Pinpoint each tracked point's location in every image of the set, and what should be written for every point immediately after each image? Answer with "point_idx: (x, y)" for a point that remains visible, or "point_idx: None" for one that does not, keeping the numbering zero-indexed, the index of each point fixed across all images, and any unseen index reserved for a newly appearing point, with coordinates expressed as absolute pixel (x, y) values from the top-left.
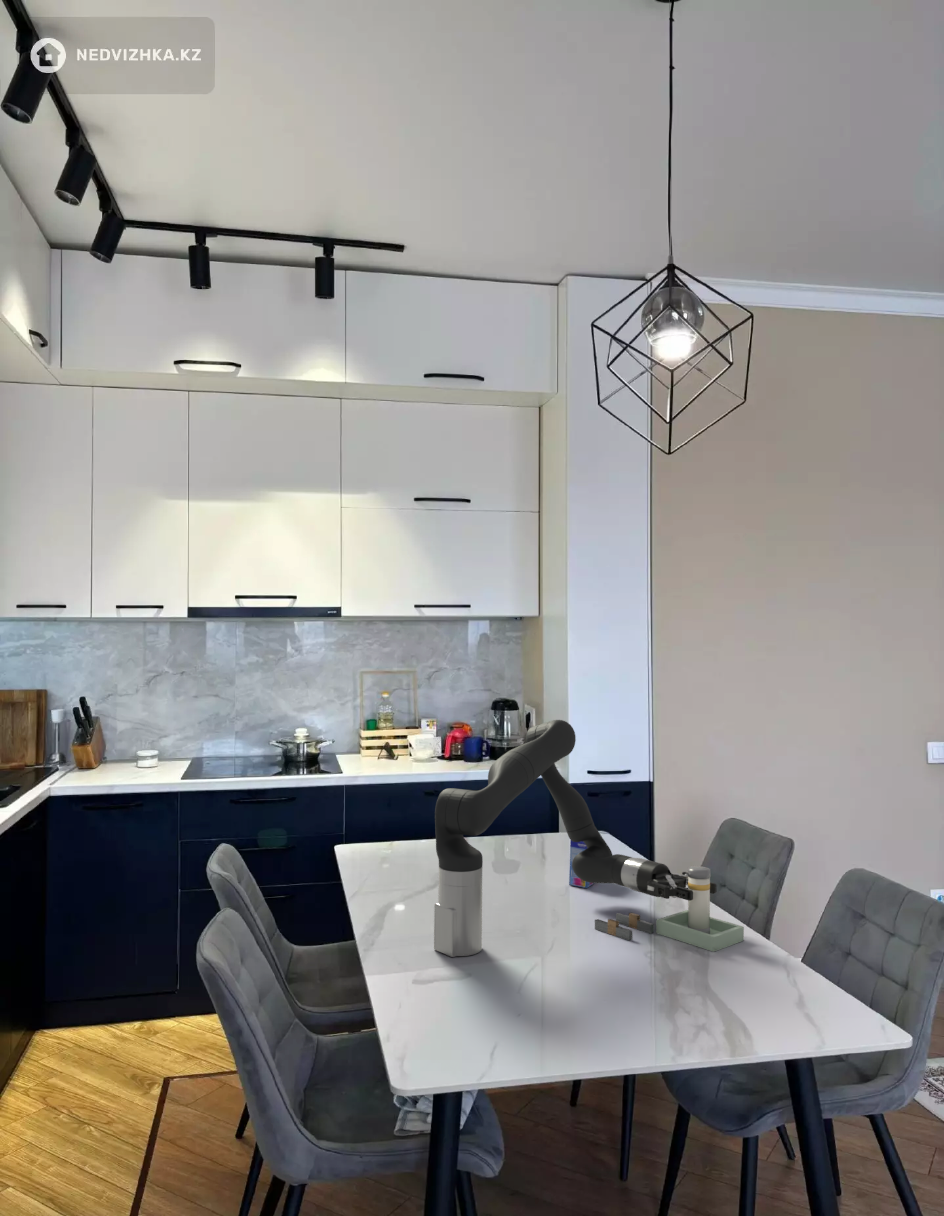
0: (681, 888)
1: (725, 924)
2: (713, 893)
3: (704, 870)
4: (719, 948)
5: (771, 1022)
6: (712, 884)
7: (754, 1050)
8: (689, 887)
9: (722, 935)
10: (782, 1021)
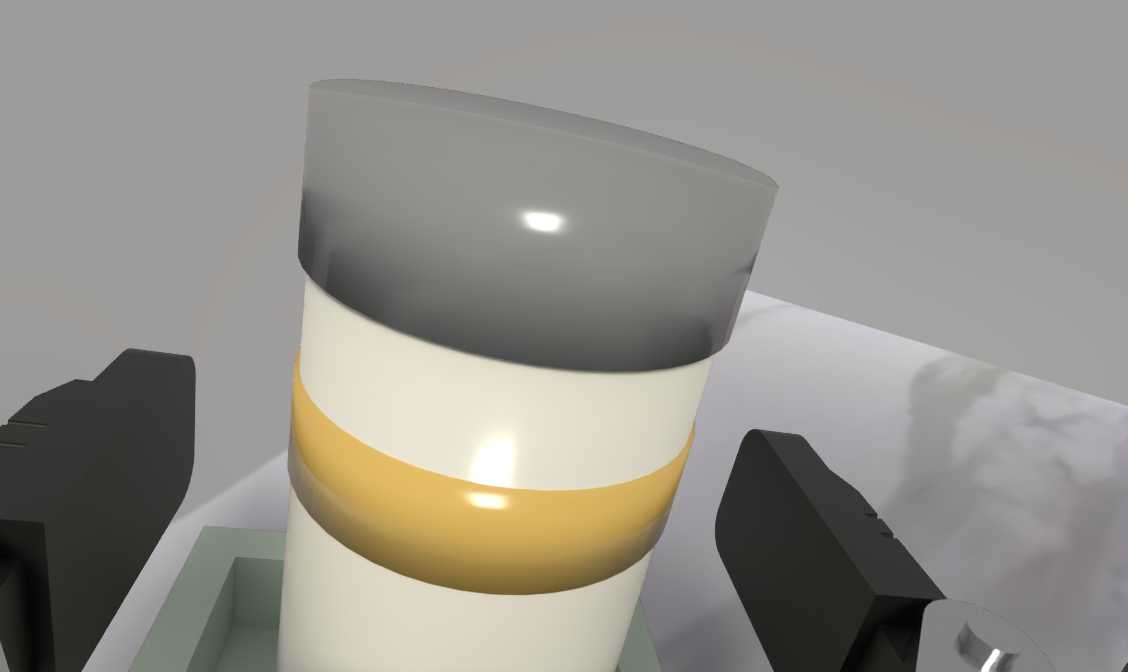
0: (874, 530)
1: (189, 667)
2: (184, 489)
3: (548, 113)
4: None
5: (837, 355)
6: (182, 373)
7: (948, 353)
8: (670, 507)
9: None
10: (807, 346)
